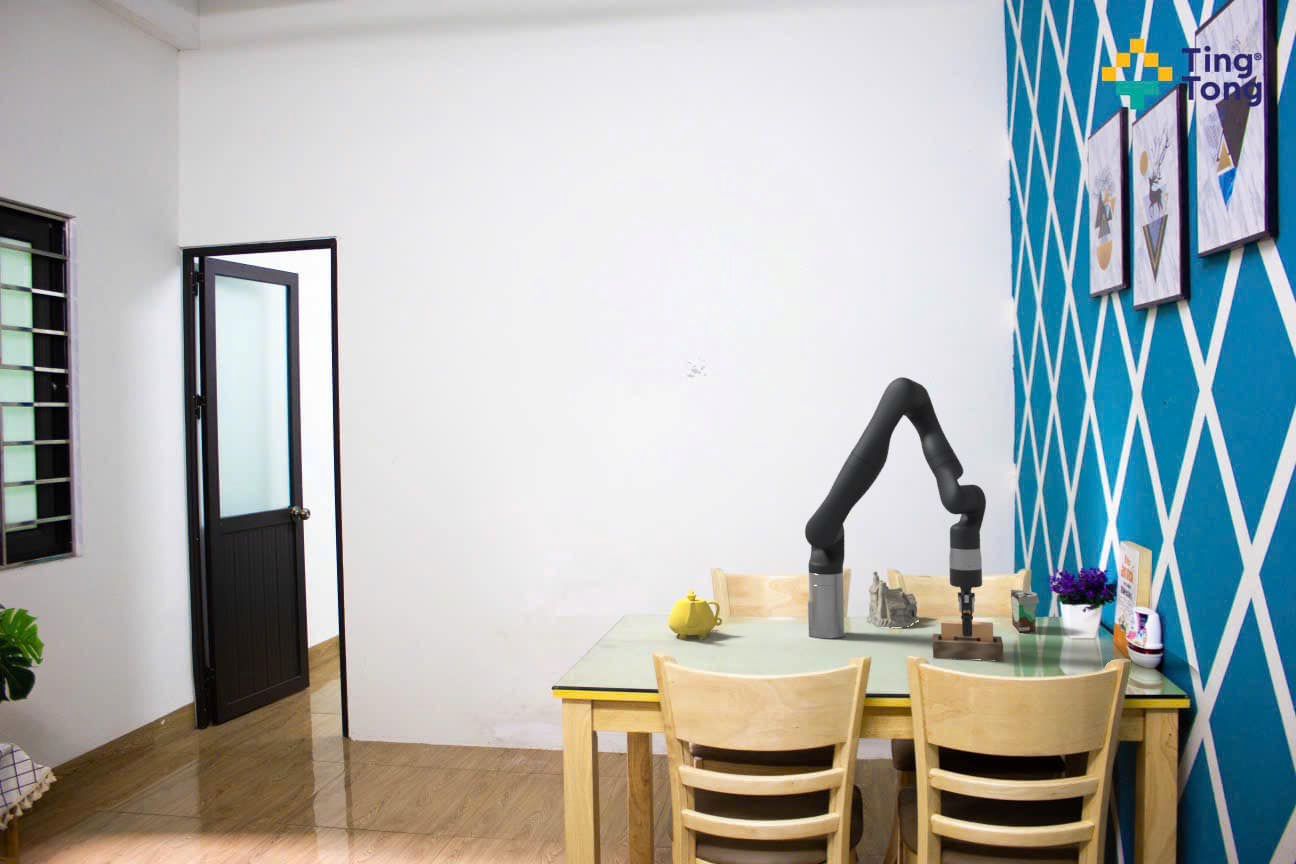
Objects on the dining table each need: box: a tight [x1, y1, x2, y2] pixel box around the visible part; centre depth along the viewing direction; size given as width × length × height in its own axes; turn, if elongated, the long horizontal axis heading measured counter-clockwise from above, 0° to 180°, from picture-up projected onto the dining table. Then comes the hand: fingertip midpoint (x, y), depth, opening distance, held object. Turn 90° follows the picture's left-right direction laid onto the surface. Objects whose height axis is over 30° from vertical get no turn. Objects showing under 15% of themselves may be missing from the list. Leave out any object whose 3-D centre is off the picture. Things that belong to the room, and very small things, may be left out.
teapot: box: [668, 588, 723, 640], centre depth 255 cm, size 20×15×12 cm
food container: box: [1010, 589, 1040, 634], centre depth 252 cm, size 12×6×10 cm, turn 168°
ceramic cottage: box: [866, 570, 920, 628], centre depth 266 cm, size 16×16×15 cm
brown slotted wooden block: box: [932, 633, 1004, 662], centre depth 226 cm, size 16×9×4 cm, turn 72°
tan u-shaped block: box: [940, 620, 994, 642], centre depth 226 cm, size 12×3×8 cm, turn 71°
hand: (967, 632), depth 226 cm, fingers open, 8 cm apart
